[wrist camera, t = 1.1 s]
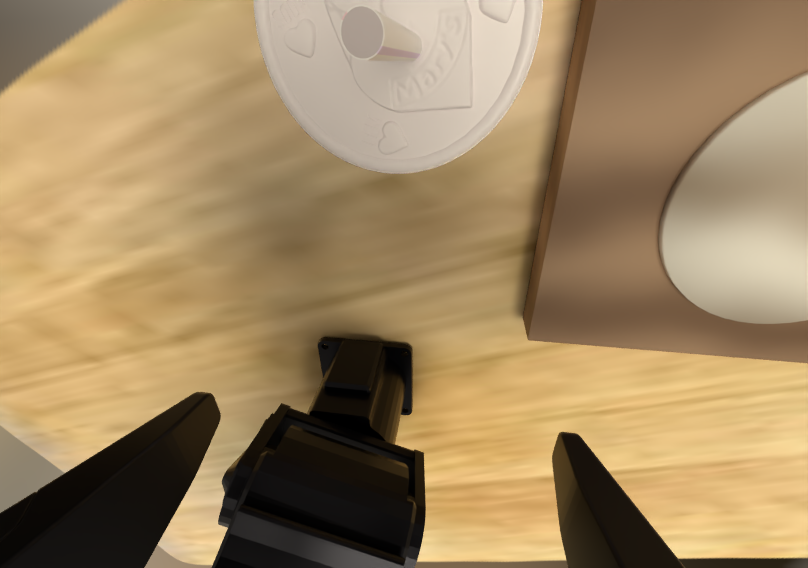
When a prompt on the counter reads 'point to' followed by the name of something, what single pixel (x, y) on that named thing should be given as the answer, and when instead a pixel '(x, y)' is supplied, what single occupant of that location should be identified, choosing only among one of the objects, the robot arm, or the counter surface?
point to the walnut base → (679, 182)
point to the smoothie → (398, 73)
